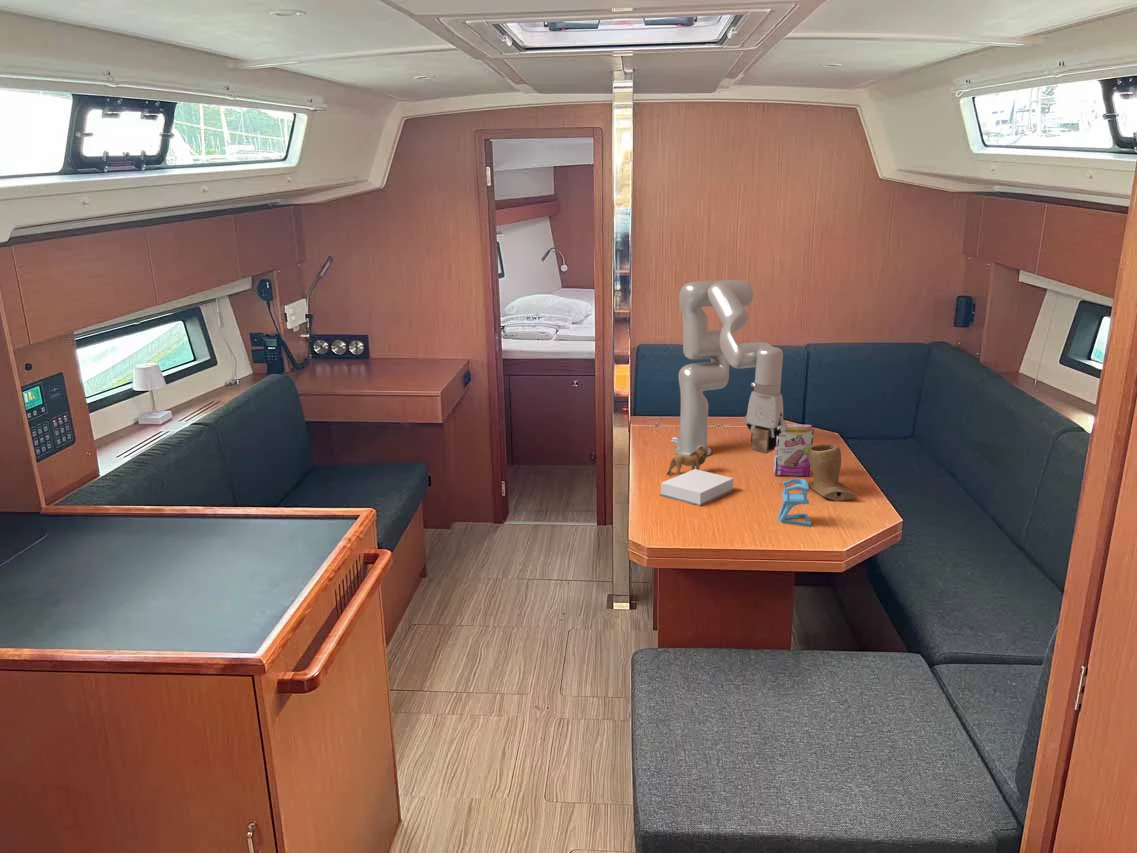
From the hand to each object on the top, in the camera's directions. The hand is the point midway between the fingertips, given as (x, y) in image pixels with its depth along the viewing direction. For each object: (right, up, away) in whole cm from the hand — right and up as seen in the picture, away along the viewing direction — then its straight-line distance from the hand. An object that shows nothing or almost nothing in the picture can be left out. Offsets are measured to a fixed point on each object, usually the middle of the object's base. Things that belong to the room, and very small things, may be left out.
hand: (763, 446), depth 260 cm
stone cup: (+19, -15, -2) cm, 24 cm away
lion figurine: (-20, -9, +19) cm, 29 cm away
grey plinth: (-20, -14, 0) cm, 25 cm away
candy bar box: (+13, -10, +17) cm, 23 cm away
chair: (+3, -20, -23) cm, 31 cm away
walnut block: (0, -1, 0) cm, 1 cm away
